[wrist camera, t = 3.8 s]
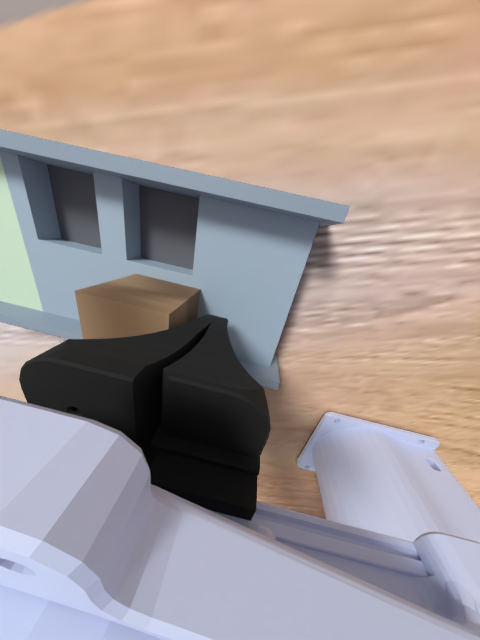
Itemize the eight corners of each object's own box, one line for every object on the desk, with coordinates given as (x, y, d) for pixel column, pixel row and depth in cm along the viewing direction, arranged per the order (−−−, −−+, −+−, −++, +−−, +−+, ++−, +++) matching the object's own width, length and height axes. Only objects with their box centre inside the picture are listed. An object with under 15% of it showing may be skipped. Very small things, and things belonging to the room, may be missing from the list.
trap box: (326, 214, 10) (350, 206, 7) (274, 361, 14) (277, 390, 12) (-69, 126, 11) (-183, 88, 8) (-5, 293, 15) (-65, 306, 12)
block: (200, 289, 11) (169, 314, 7) (193, 344, 13) (165, 387, 9) (136, 273, 11) (74, 290, 7) (138, 330, 13) (88, 367, 9)
